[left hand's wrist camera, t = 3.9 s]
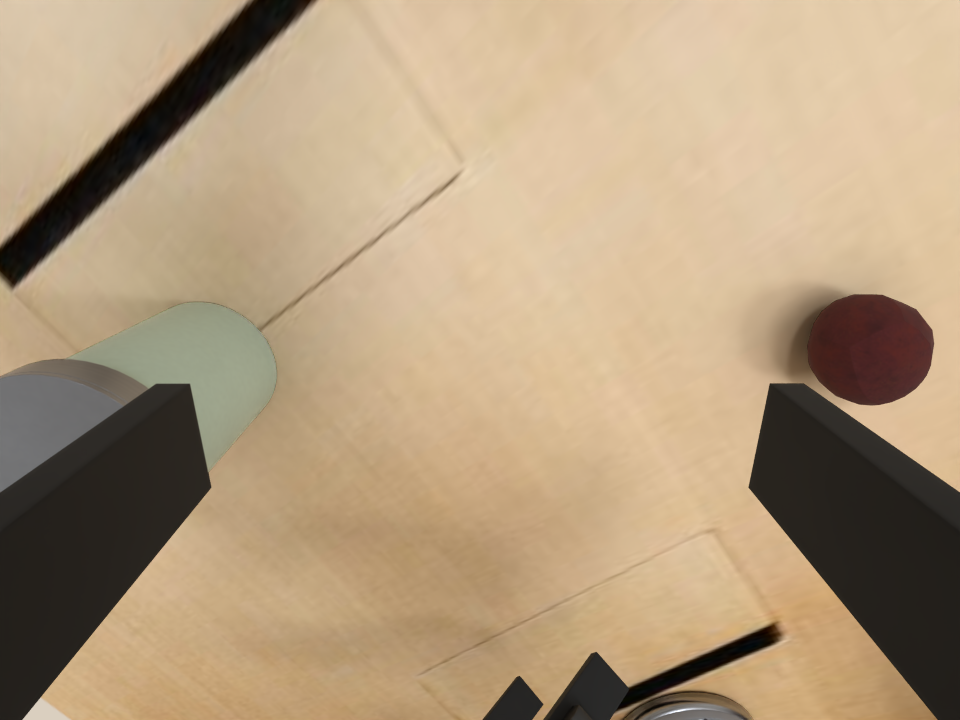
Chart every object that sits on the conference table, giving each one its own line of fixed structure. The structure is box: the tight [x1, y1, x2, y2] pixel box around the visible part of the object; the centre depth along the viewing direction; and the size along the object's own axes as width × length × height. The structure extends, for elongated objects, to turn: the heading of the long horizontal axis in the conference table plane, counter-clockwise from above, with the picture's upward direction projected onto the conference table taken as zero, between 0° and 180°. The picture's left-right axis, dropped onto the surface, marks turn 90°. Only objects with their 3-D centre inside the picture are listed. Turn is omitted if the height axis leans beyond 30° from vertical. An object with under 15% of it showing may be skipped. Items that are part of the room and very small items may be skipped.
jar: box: [66, 302, 277, 472], centre depth 35 cm, size 10×10×15 cm
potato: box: [807, 294, 934, 405], centre depth 37 cm, size 7×8×7 cm
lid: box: [0, 359, 148, 492], centre depth 28 cm, size 11×11×2 cm
